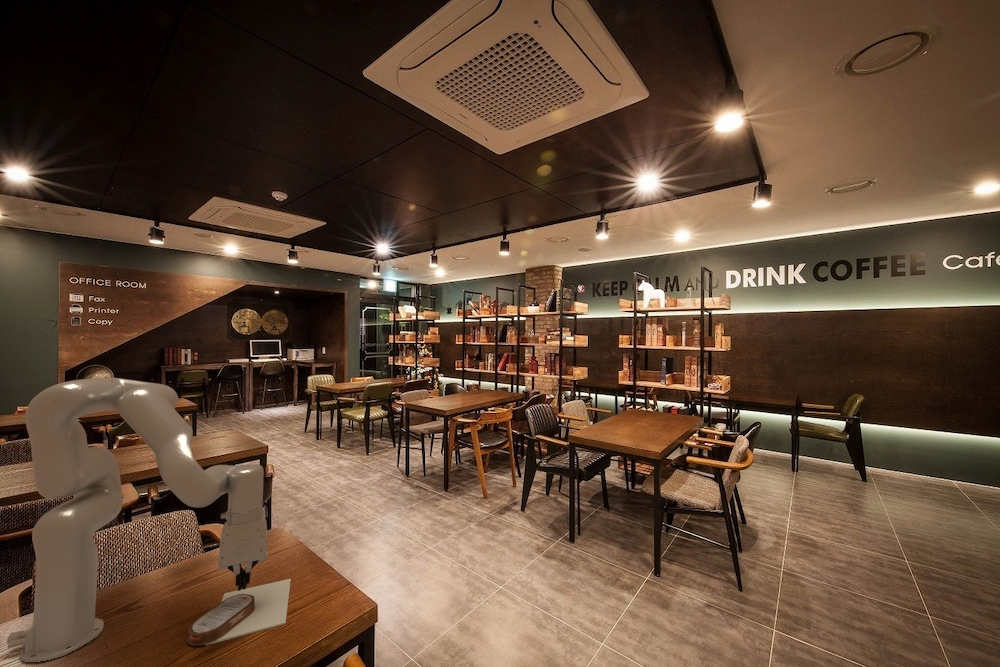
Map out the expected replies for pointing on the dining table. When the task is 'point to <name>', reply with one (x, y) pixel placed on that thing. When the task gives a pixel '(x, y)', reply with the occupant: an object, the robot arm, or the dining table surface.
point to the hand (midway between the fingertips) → (242, 586)
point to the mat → (262, 609)
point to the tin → (220, 619)
